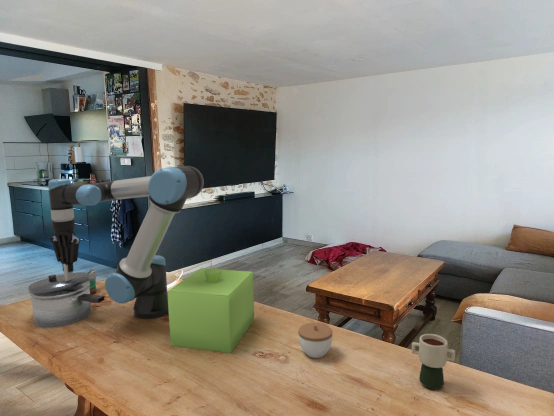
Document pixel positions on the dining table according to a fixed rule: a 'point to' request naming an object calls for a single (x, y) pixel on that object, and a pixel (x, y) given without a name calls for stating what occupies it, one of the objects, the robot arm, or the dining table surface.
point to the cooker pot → (63, 306)
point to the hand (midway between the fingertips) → (69, 279)
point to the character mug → (432, 359)
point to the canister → (211, 309)
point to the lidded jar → (315, 339)
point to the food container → (92, 281)
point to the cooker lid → (58, 283)
